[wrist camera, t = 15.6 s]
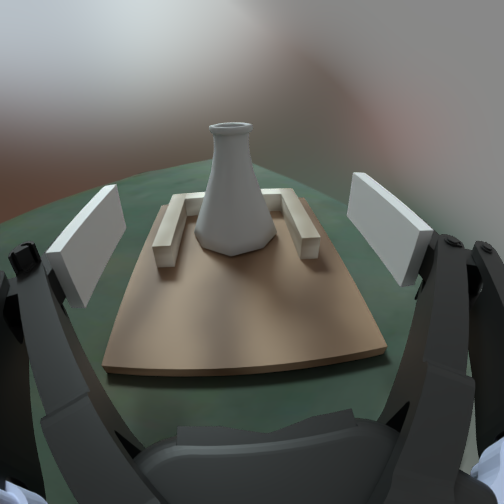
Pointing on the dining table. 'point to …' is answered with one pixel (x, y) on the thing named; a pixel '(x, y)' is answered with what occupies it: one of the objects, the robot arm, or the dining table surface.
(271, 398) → the dining table surface
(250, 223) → the flask
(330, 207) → the dining table surface
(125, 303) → the nook board
